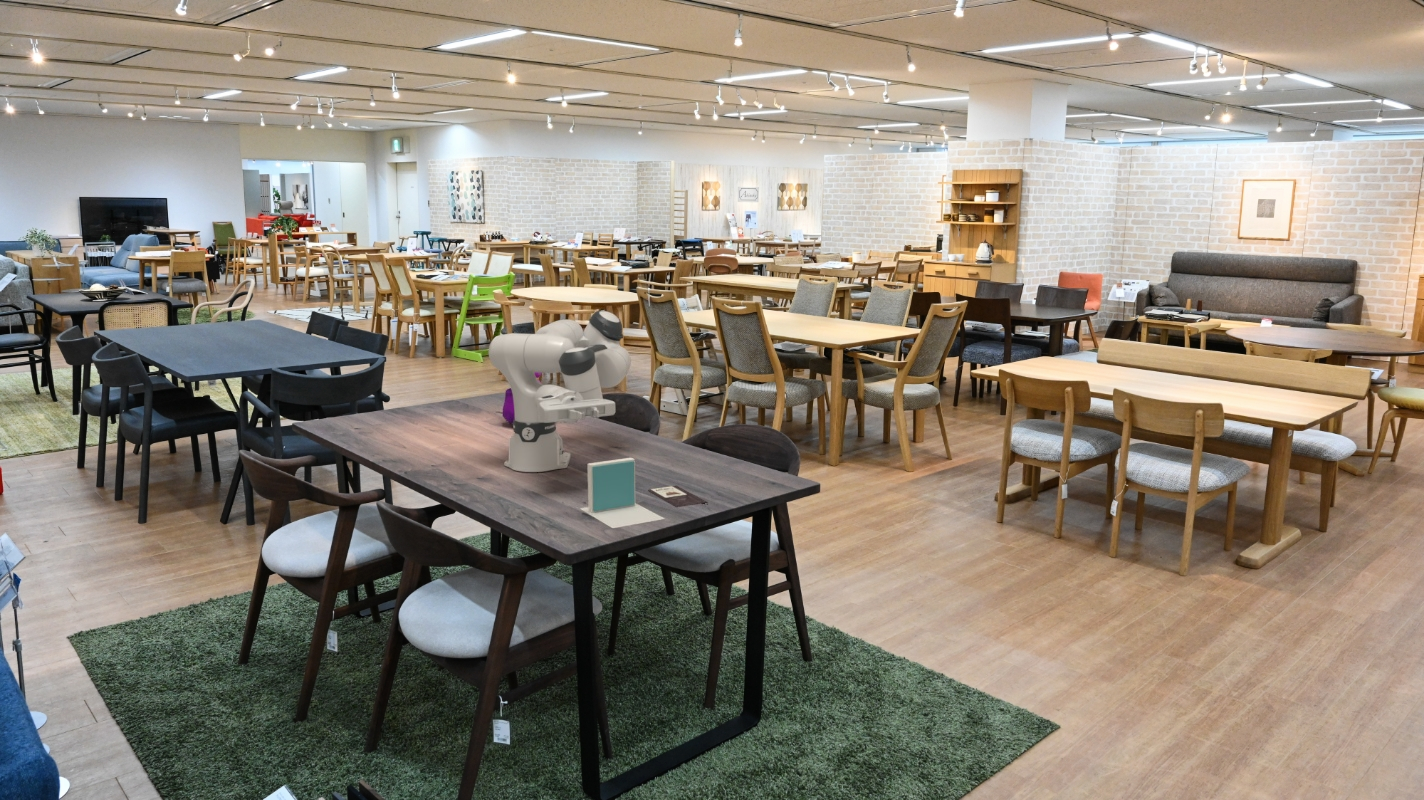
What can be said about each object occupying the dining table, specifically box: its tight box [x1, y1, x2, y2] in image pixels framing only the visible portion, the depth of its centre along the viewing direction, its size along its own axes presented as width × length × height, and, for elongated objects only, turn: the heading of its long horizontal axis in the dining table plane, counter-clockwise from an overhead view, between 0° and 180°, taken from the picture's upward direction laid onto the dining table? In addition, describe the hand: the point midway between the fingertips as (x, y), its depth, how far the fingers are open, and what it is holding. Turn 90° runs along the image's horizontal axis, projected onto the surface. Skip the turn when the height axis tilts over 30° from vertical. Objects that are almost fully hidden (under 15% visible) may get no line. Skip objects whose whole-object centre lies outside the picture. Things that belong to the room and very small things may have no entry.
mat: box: [579, 502, 666, 529], centre depth 240 cm, size 18×14×1 cm
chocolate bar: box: [647, 485, 709, 508], centre depth 255 cm, size 9×1×18 cm
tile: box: [587, 457, 636, 513], centre depth 243 cm, size 2×12×12 cm, turn 122°
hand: (589, 415), depth 250 cm, fingers open, 3 cm apart
